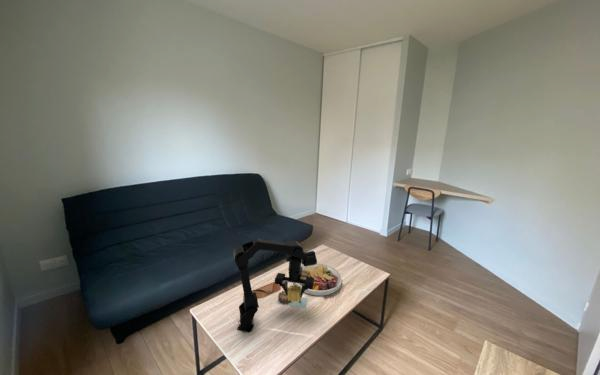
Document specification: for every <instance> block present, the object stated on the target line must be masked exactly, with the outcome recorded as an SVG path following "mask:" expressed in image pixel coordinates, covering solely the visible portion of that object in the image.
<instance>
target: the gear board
mask: <svg viewBox="0 0 600 375" xmlns="http://www.w3.org/2000/svg"><path fill="white" fill-rule="evenodd" d="M308 299H309V298H307V297H302V298H301V300H299V302H296V301H295V302H291V303H290V302H289V304H282V303H279V301H278V300H277V301H276V304H277V305H281V306H289V307H295V308H299V309H300V308H301V309H306V308H307V304H308Z"/></svg>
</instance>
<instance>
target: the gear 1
mask: <svg viewBox="0 0 600 375" xmlns="http://www.w3.org/2000/svg"><path fill="white" fill-rule="evenodd" d="M277 296H278V297H277V298H278V300H277V301H279V303H282V304H289V302H290V303H291V300H290V301H289V300H288V298H287V295H286V293H285V291H284V290H282V291H281V292H280V291H279V293H278V295H277Z"/></svg>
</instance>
